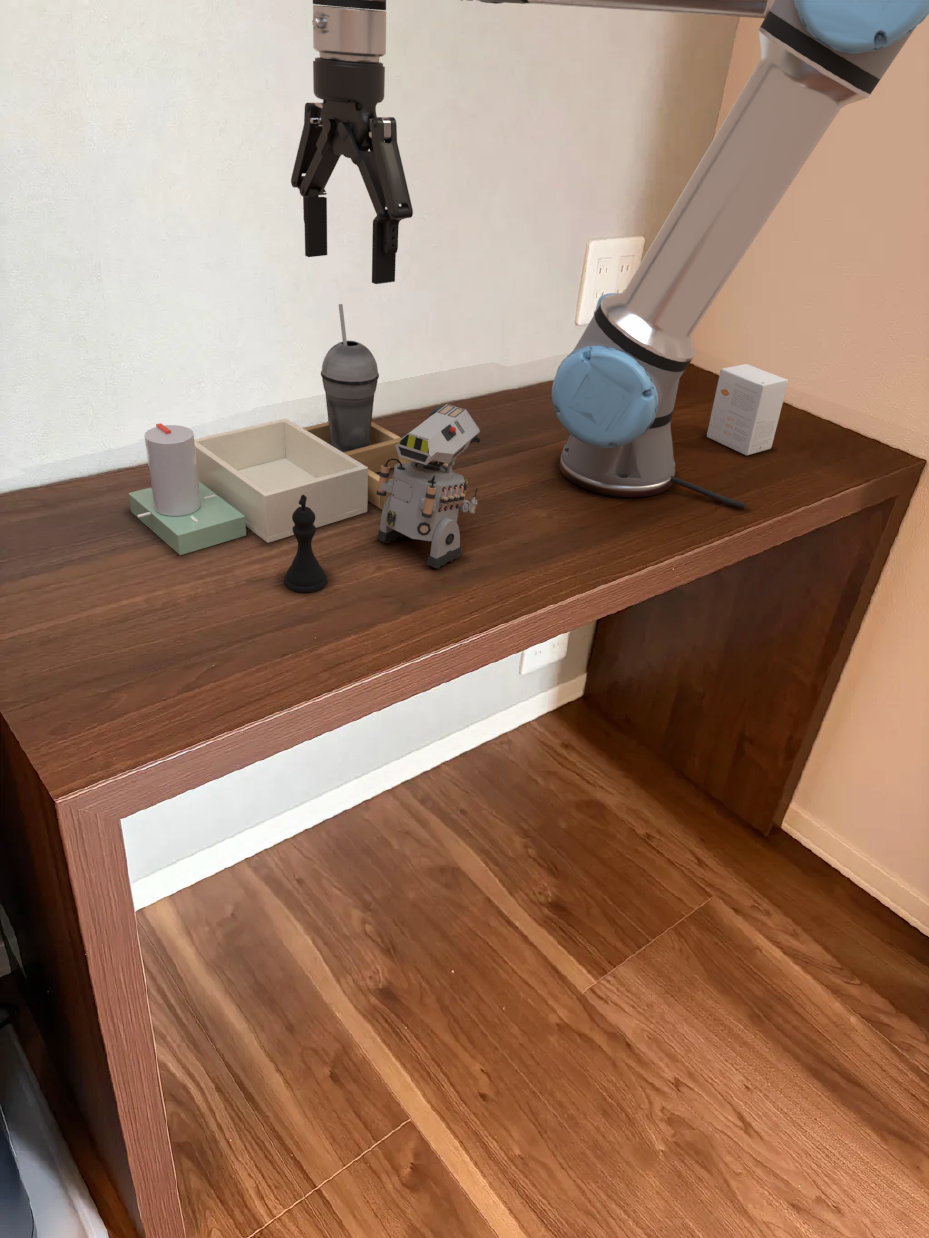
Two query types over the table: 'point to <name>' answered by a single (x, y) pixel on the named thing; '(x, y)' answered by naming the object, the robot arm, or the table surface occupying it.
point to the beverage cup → (349, 392)
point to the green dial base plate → (191, 521)
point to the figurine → (429, 484)
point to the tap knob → (173, 469)
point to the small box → (746, 408)
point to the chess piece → (304, 554)
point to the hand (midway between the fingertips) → (348, 268)
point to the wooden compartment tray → (370, 455)
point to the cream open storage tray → (281, 476)
